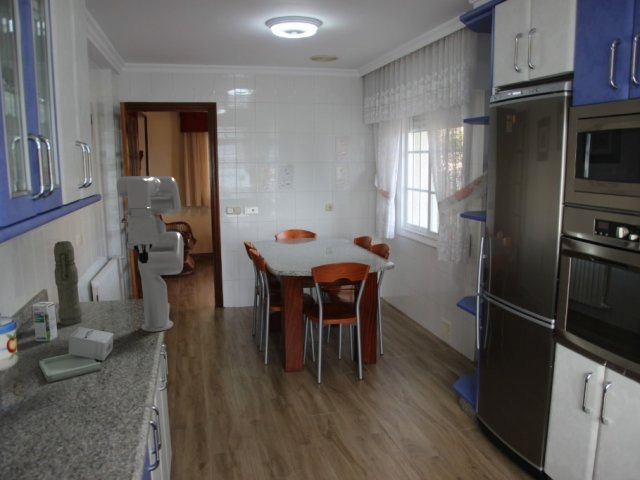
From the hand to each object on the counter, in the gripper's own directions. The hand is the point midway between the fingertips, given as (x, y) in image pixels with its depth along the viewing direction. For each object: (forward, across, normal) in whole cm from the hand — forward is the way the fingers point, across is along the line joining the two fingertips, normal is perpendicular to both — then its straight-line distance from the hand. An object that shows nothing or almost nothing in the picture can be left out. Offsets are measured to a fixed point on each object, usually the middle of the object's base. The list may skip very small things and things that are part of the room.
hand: (143, 262), depth 188 cm
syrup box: (+32, -29, +34) cm, 55 cm away
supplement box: (+28, -15, -1) cm, 32 cm away
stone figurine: (+32, -17, +50) cm, 62 cm away
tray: (+32, -28, -2) cm, 43 cm away
